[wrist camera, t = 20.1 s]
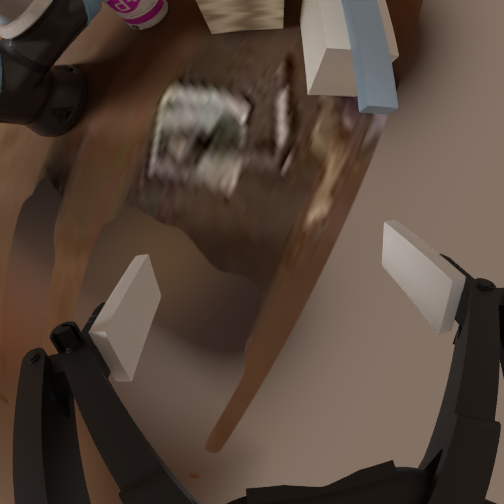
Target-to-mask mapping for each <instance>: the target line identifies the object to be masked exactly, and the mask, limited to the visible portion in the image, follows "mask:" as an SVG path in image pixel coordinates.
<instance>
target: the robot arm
mask: <svg viewBox="0 0 504 504" xmlns="http://www.w3.org/2000/svg"><path fill="white" fill-rule="evenodd" d="M101 7H102V2H101V0H0V36H1V37H2V39H1V41H0V123H8V124H20V125H25V126H26V127H28V128H29V129H31V130H32V131H34V132H35V133H37V134H38V135H40V136H44V137H57V136H60V135H62V134H63V133H65V132H66V131H68V130H69V129H70V128H71V127H72V126H73V125H74V123H75V122H76V121H77V119H78V118H79V116H80V114H81V112H82V110H83V108H84V105H85V102H86V97H87V80H86V77H85V75H84V74H83V72H82V71H81V70H79V69H78V68H76V67H73V66H71V65H54V63H55V62H56V61H57V60H58V58H59V57H60V56H61V55H62V54H63V52H64V51H65V50H66V49H67V48H68V46H69V45H70V44H71V43H72V42H73V41H74V40H75V39H76V37H77V36H78V35H79V34H80V33H81V32H82V31H83V30H84V29H85V28H86V27H87V26H88V25H89V24H90V22H91V20H92V19H93V18H94V17H95V16H96V15H97V14H98V13H99V11H100V10H101ZM382 266H383V267H384V268H385V269H386V270H387V272H388V273H389V274H390V275H391V276H392V277H393V279H394V280H395V281H396V282H397V283H398V285H399V286H400V287H401V288H402V289H403V291H404V292H405V293H406V294H407V296H408V297H409V298H410V299H411V300H412V302H413V303H414V304H415V305H416V307H417V308H418V309H419V310H420V312H421V313H422V314H423V316H424V317H425V318H426V319H427V321H428V322H429V323H430V325H431V326H432V327H433V328H434V330H435V331H436V332H437V334H438V335H440V334H442V333H446V332H449V331H451V330H452V327H453V324H454V320H456V321H457V322H458V324H459V327H458V330H457V333H456V336H455V339H454V341H453V344H455V347H454V353H453V358H452V363H451V368H450V373H449V377H448V382H447V386H446V390H445V394H444V397H443V401H442V405H441V408H440V412H439V415H438V419H437V422H436V425H435V428H434V431H433V434H432V437H431V440H430V443H429V445H428V448H427V451H426V453H425V456H424V458H423V460H422V461H421V463H420V465H419V467H418V469H417V468H411V467H395V465H394V462H393V460H391V461H388V462H385V463H382V464H378V465H375V466H372V467H369V468H365V469H361V470H359V471H357V472H355V473H353V474H351V475H349V476H347V477H345V478H343V479H340V480H339V481H336V482H334V483H332V484H330V485H327V486H324V487H306V486H288V485H281V486H271V487H261V488H249V489H246V496H245V497H241V498H238V499H236V500H233V501H231V502H229V503H227V504H496V503H494V502H491V501H489V500H486V499H485V497H486V493H487V490H488V486H489V483H490V479H491V475H492V471H493V467H494V463H495V458H496V453H497V448H498V443H499V437H500V429H501V425H500V422H497V421H495V413H496V404H497V395H498V383H499V363H501V367H502V372H503V376H504V288H496V286H495V285H494V284H493V283H492V282H491V281H489V280H486V279H483V278H477V279H474V278H473V277H471V276H470V275H469V274H468V273H467V272H466V271H465V270H463V269H462V268H460V266H459V265H457V264H455V262H454V261H453V260H452V259H450V258H449V257H447V256H445V255H442V254H438V253H437V252H436V251H435V250H434V249H432V248H431V247H430V246H429V245H427V244H426V243H425V242H424V241H422V240H421V239H420V238H419V237H417V236H416V235H414V234H413V233H412V232H411V231H410V230H408V229H407V228H406V227H404V226H403V225H402V224H400V223H399V222H398V221H396V220H392V221H384V238H383V255H382ZM160 299H161V294H160V291H159V288H158V285H157V281H156V278H155V275H154V272H153V268H152V265H151V262H150V258H149V255H148V254H146V255H139V256H136V257H135V258H134V259H133V261H132V262H131V264H130V265H129V267H128V268H127V270H126V272H125V273H124V275H123V276H122V278H121V279H120V281H119V283H118V284H117V286H116V287H115V289H114V290H113V292H112V294H111V295H110V297H109V299H108V300H107V302H104V303H101V304H100V305H99V306H98V307H97V308H96V309H95V310H94V312H93V313H92V315H91V317H90V318H89V320H88V322H87V324H86V325H85V327H84V328H83V330H82V332H81V331H80V330H79V328H78V326H77V324H76V323H75V322H71V321H70V322H65V323H62V324H60V325H59V326H57V327H56V328H55V329H54V330H53V331H52V332H51V334H50V339H51V341H52V343H53V344H54V346H55V348H56V349H57V351H58V354H54V355H51V356H48V355H47V354H46V352H45V350H44V349H42V348H36V349H33V350H31V351H29V352H28V353H27V354H26V355H25V356H24V358H23V361H22V364H21V370H20V377H19V383H18V390H17V398H16V407H15V417H14V418H15V419H14V433H13V484H14V497H15V504H91V503H90V499H89V494H88V490H87V486H86V481H85V476H84V471H83V467H82V461H81V456H80V449H79V443H78V435H77V426H76V417H75V406H74V398H75V400H76V403H77V405H78V407H79V410H80V412H81V414H82V417H83V419H84V421H85V424H86V426H87V428H88V430H89V432H90V434H91V436H92V439H93V440H94V443H95V445H96V447H97V449H98V451H99V452H100V455H101V456H102V458H103V460H104V462H105V464H106V466H107V467H108V469H109V471H110V473H111V474H112V476H113V478H114V480H115V481H116V483H117V485H118V486H119V488H120V491H121V492H120V493H119V496H120V499H121V501H122V502H123V504H200V503H199V502H198V501H197V500H196V499H195V498H194V497H193V495H192V494H190V492H189V491H188V490H187V489H186V488H185V487H184V486H183V484H182V483H181V482H180V481H179V480H178V479H177V477H176V476H175V475H174V474H173V473H172V471H171V470H170V469H169V468H168V467H167V465H166V464H165V463H164V461H163V460H162V459H161V458H160V456H159V455H158V454H157V453H156V451H155V450H154V448H153V447H152V446H151V444H150V443H149V442H148V440H147V439H146V438H145V436H144V435H143V433H142V432H141V431H140V429H139V428H138V426H137V425H136V424H135V422H134V420H133V419H132V417H131V416H130V414H129V413H128V411H127V409H126V408H125V406H124V405H123V404H122V402H121V400H120V398H119V397H118V395H117V393H116V392H115V390H114V388H113V387H112V385H111V383H110V382H109V380H108V377H109V375H110V372H111V374H112V375H113V377H114V379H115V380H116V381H117V382H122V381H123V382H131V381H132V379H133V375H134V373H135V369H136V366H137V363H138V360H139V357H140V354H141V351H142V348H143V346H144V343H145V340H146V337H147V334H148V331H149V329H150V326H151V323H152V320H153V317H154V315H155V312H156V309H157V306H158V304H159V301H160Z"/></svg>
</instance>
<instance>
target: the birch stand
mask: <svg viewBox="0 0 504 504" xmlns="http://www.w3.org/2000/svg"><path fill="white" fill-rule="evenodd" d="M196 2H197V4H198V6H199V8H200V10H201V13H202V15H203V17H204V19H205V21H206V23H207V25H208V27H209V29H210V31H211V33H212V34H217V33H225V32H234V31H245V30H260V29H283V17H284V0H196Z"/></svg>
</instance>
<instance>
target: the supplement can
mask: <svg viewBox="0 0 504 504" xmlns="http://www.w3.org/2000/svg"><path fill="white" fill-rule="evenodd" d="M102 1H103V2H104V3H105V4H106V5H107V6H108V7H110V8H111V9H112V10H113V11H114V12H115V13H116V14H117V15H119V16H120V17H121V18H122V19H123V20H124V21H125V22H126V23H127V24H128V25H129V26H131V27H132V28H134V29H139V30H143V29H147V28H150V27H152V26H154V25H156V24H157V23H158V22H160V21H161V20H162V19H163V18H164V16H165V15H166V14H167V11H168V2H167V1H166V0H102Z"/></svg>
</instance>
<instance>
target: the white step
mask: <svg viewBox="0 0 504 504" xmlns="http://www.w3.org/2000/svg"><path fill="white" fill-rule="evenodd" d="M377 2H378V6H379V10H380V13H381V17H382V21H383V25H384V29H385V33H386V38H387V42H388V47H389V52H390V57H391V63H392V62H393V61H394V60H395V59H396V58H397V57H398V56H399V53H398V49H397V44H396V39H395V35H394V31H393V27H392V23H391V19H390V15H389V11H388V8H387V4H386V1H385V0H377ZM300 26H301V34H302V42H303V50H304V59H305V69H306V78H307V89H308V95H334V96H353V97H357V88H356V80H355V73H354V66H353V59H352V53H351V47H350V41H349V36H348V31H347V25H346V20H345V16H344V11H343V7H342V2H341V0H302V7H301V14H300Z"/></svg>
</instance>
